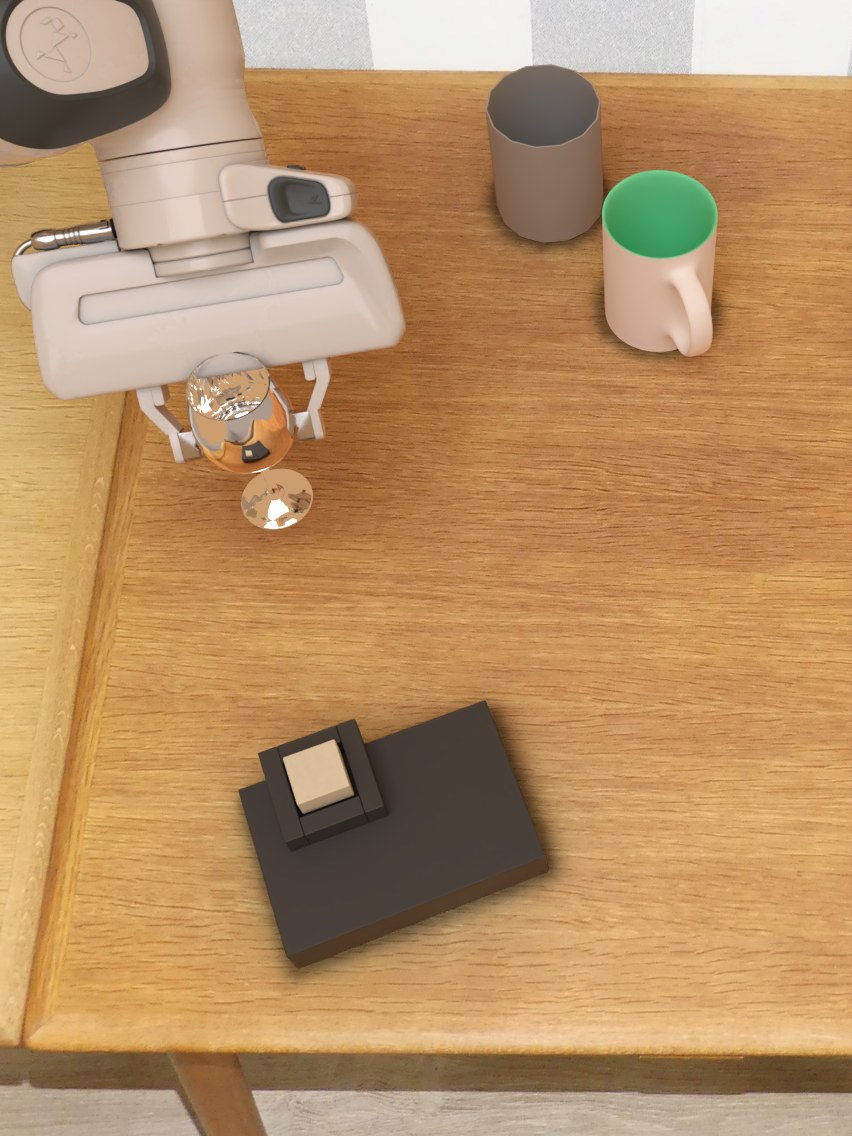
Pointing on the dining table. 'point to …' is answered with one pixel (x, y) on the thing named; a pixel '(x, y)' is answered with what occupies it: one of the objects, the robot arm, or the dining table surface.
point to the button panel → (391, 832)
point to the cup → (546, 152)
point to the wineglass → (250, 440)
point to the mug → (660, 262)
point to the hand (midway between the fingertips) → (253, 449)
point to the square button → (318, 776)
